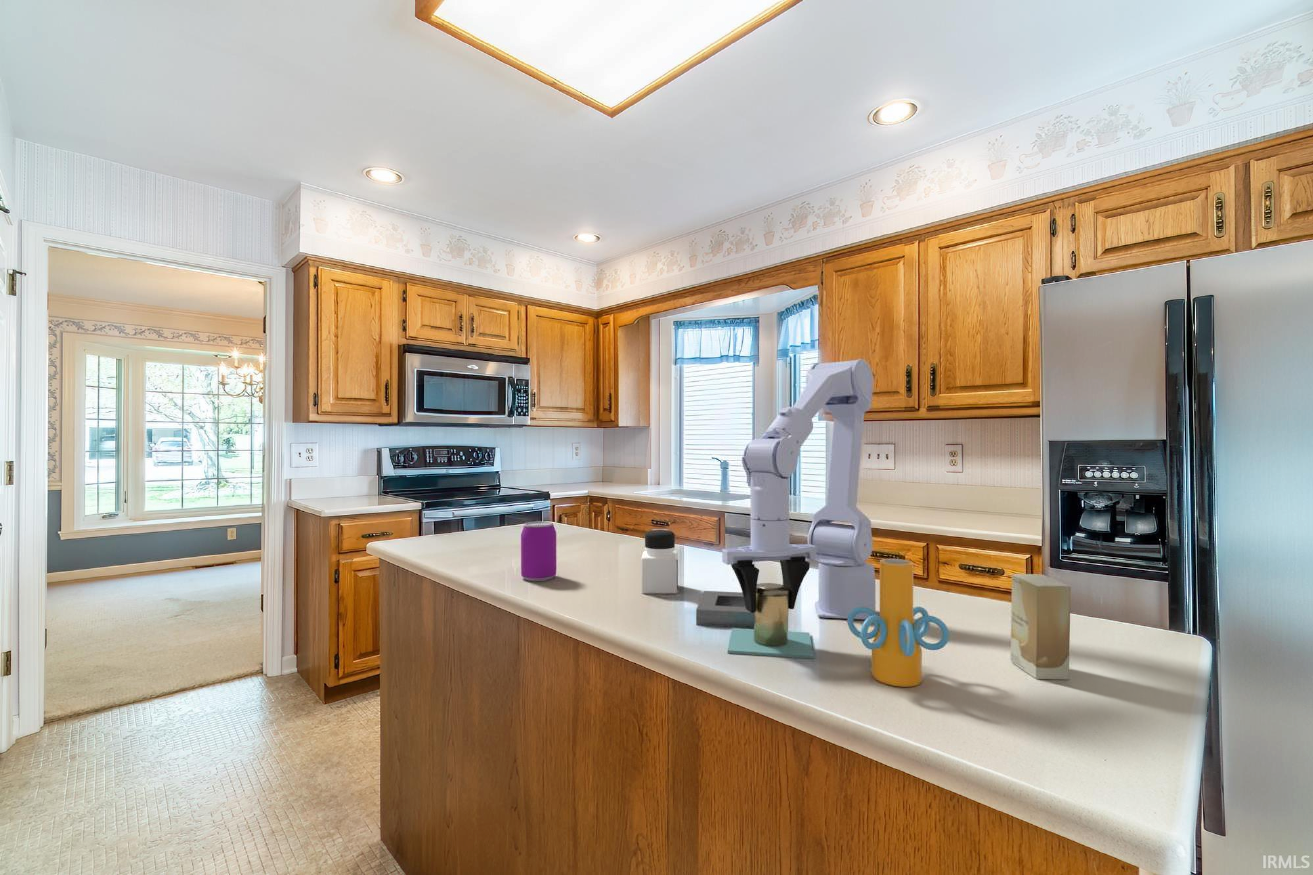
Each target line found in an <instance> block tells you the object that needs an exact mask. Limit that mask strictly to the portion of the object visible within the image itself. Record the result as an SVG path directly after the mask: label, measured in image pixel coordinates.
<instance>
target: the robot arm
mask: <svg viewBox="0 0 1313 875" xmlns="http://www.w3.org/2000/svg"><path fill="white" fill-rule="evenodd" d="M873 390H874V375H873V372H872V368H871V366H870V364H869V363H868V362H867V360H865V359H864V358H859V359H858V358H857V359H855V360H846V361H845V360H844V361H836V362H835V361H833V362H824V363H823V362H821V363H819V362H816V363H813V364H812V365H811V366H810V367H809V370H807V371H806V373H805V387H804V388H803V390H802V392H801V393H800V395H799V396H798V398H797V400H796V401H795V403H794V405H793V406H788V407H784V408H783V407H782V408H781V409H780V410H779V412H778V415H777V416H776V417H775V419H774V420H773V421H772V423H771V424H770V426H768V428H767V429H766V430H765V432H764V433H763V434H762V435H761V437H760V438H754V439H752V440H751V441H750V442H749V443H748V444H746V446H745V448H744V452H743V456H741V464H742V467H743V470H744V472H745V474H746V484H747V486H748V487H749V488H750V545H745V546H739V547H732V548H722V550H721V551H722V556H721V558H722V563H723V564H726V565H727V566H728V565H729V566H731V568H732V570H733V572H734V574H735V576H736V578H737V580H738V584H739V586H740V589H741V592H742V593H743V596H744V600H745V606H746V609H747V610H748V611H749V612H751V613H754V612H756V606H757V605H756V588H757V584H758V580H759V573H760V569H759V568H757V567H756V566H755V562H757V563H758V562H771V561H775V562H776V561H779V563H780V570H781V575H782V576H781V577H782V585H785V586H787V587H789V610H794V609H795V606H796V602H797V596H798V594H799V590H800V587H801V586H802V583H803V582H804V581H803V580H804V579H805V577H806V575H807V573H808V571H810V561H808V560H806V559H809V560H814V561H816V562H818V601H815V602H814V606H815V610H816V614H817V617H818V618H829V619H848V615H849V613H850V612H851V611H852V610H853V609H854V608H856V607H867V608H870V609H872V610H873V611H874V612H875V613H876V614H877V610H876V608H877V607H876V602H877V601H876V574H875V567H874V564H872V563H869V562H867V561H868V560H869V559H870V557H871V555H872V551H873V548H874V545H873V543H874V541H873V540H874V539H873V536H872V535H873V534H872V521H871V519H870V518H869V517H868V516H867V515H866V514H865V513H864V512H862V510H860V509H859V508H858V506H857V502H858V492H859V478H860V477H859V476H860V468H861V466H860V465H861V452H862V442H863V431H864V430H863V429H864V417H865V413H866V412H868V411H869V410H870V409H871V408H872V401H873V392H874V391H873ZM821 409H822V410H823V411H825V412H826V413H830V414H831V415H832V417H833V426H832V428H833V429H832V438H831V448H830V451H831V452H830V463H829V473H828V484H827V494H826V495H827V496H826V504H824V506H823V507H821V508H820V509H819V510H817V511H816V512H814V513H813V515H812V520H811V521H812V522H811V525H810V528H809V530H808V534H807V543H805V544H791V543H790V476H792V475H793V474H794V473H796V470H797V466H798V459H799V456H800V455H801V447H802V446H803V444H804V443H805V442H806V440H807V439H808V438H809V436H810V434H811V433H812V431H813V430H814V422H813V418H815V416H816V415H817V414H818V413H819V412H820V410H821ZM833 522H840V523H847V524H839V523H833ZM850 524H852V525H850ZM866 562H867V563H866ZM868 617H870V615H869V614H867V613H858V614H857V615H856V616H855V617H854V620H864V621H865V620H866V619H867V618H868Z"/></svg>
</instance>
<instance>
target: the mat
mask: <svg viewBox="0 0 1313 875" xmlns="http://www.w3.org/2000/svg"><path fill="white" fill-rule="evenodd" d="M727 654H734V655H735V654H736V655H738V654H739V655H749V656H750V655H751V656H752V655H754V656H764V657H765V656H766V657H779V658H781V657H784V658H797V659H811V660H812V659H814V658H815V655H814V652H813V645H812V639H811V634H810V632H807V631H790V630H788V642H787V644H785V645H783V646H767V645H762V644H759V643H757V642H755V641H754V628H740V627H731V631H730V637H729V642H728V646H727Z"/></svg>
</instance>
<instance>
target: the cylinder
mask: <svg viewBox="0 0 1313 875" xmlns="http://www.w3.org/2000/svg"><path fill="white" fill-rule="evenodd" d="M858 613H867V614H869V615H870V617H868V618H867V619H866V620H864V621H863V623H862V626H861V628H860V630H858V629H857V627H856V626H855V624H854V620H855V619H854V617H855V616H856V615H857V614H858ZM918 613H919V614H921V616H920V617H918V618H917V619H915V621H914V617H915V616H916V615H917V614H918ZM873 623H874V627H873V629H872V630H871V631H870V632H868V631H869V628H870V626H871V625H872V624H873ZM930 623H932V624H935V625H937V626H938V628H939V629H940V630H941V639H940V640H939V641H938V642H936V643H935V642H934V643H931V642H927V641H925V640H924V639H923V638H924V637H925V636H926V635H927V633H928V631H929V629H930ZM847 625H848V629H849V630H850V632H851V634H853V635H854V636H855V637H856V638H859V639H860V640H861V642H862V644H863V646H864V647H865V648H866V649H868V650H870V651H871V674H872V677H873V678H874V679H875V680H876V681H878V682H880V683H883V684H886V685H889V686H893V687H901V688H905V687H906V688H909V687H910V688H911V687H915V686H918V685H920V684H921V682H922V681H923V671H922V670H923V667H922V666H923V665H922V664H923V659H922V658H923V652H922V648H924V649H926V650H929V651H937V650H941V649H943V648H944V647H945V646H946V645H947V644H948V642H949V640H950V632H949V629H948V626H947V625H946V623H945V622H944V621H943V620H942V619H940V618H938V617H936V616H934V615H930V614H929V612H928V611H927V610H926V608H924V607H922V606H915V607H914V562H913V561H910V560H907V559H901V558H882V559H879V615H878V614H877V612H876V613H875V612H874V611H873V610H872V609H870V608H867V607H856V608H854V609H853V610H852V611H851V612H850V613H849V615H848V619H847ZM920 627H921V628H920ZM919 629H920V630H919ZM872 639H873V640H872ZM870 640H872V642H870Z"/></svg>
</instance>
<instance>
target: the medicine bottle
mask: <svg viewBox="0 0 1313 875" xmlns="http://www.w3.org/2000/svg"><path fill="white" fill-rule="evenodd" d="M675 536H676V534H675V533H674V531H672V530H670V529H665V528H664V529H663V528H662V529H661V528H660V529H659V528H658V529H656V528H655V529H651V530H648V531H646V532H645V534H644V551H643V552H642V555H641V593H642V594H643V595H645V594H646V595H648V594H649V595H652V594H653V595H654V594H655V595H657V594H658V595H661V594H662V595H675V594H676V595H677V594H678V592H679V590H678V589H679V578H678V577H679V575H678V574H679V564H678V562H679V559H678V552H677V551H676V549H675V547H676V546H675V544H676V543H675V542H676V540H675V539H676V537H675Z"/></svg>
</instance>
